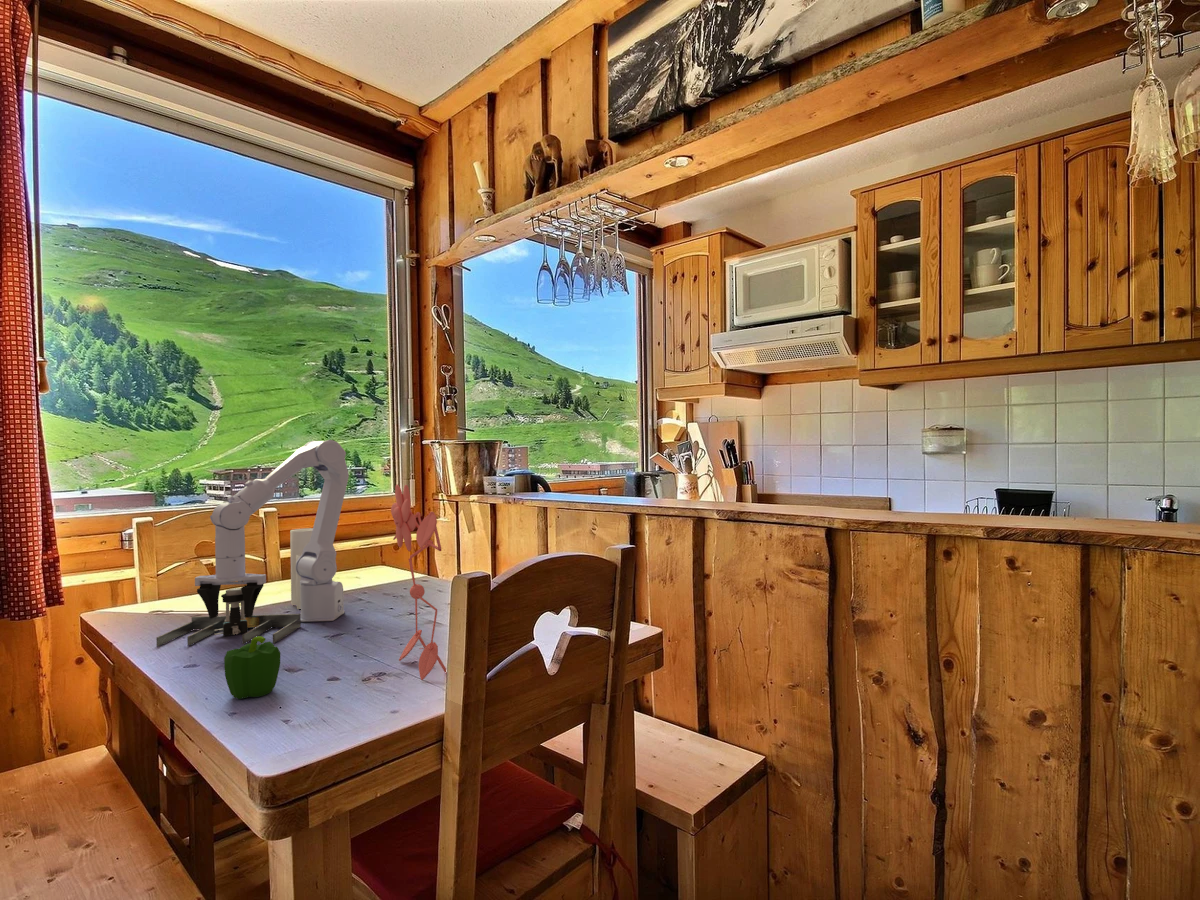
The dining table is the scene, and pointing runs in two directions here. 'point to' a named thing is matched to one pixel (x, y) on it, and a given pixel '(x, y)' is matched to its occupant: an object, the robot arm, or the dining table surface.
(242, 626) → the push button
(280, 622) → the rack
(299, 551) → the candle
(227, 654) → the bell pepper
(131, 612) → the dining table surface
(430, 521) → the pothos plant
